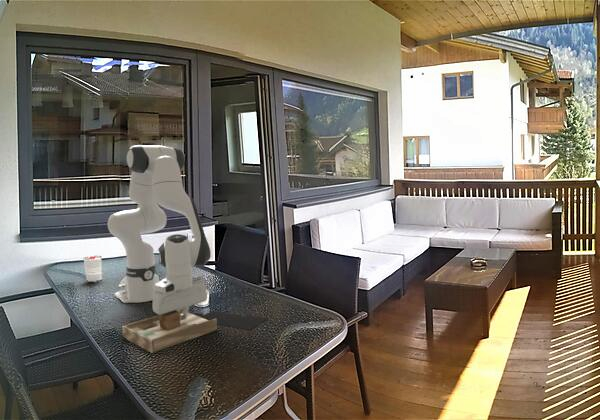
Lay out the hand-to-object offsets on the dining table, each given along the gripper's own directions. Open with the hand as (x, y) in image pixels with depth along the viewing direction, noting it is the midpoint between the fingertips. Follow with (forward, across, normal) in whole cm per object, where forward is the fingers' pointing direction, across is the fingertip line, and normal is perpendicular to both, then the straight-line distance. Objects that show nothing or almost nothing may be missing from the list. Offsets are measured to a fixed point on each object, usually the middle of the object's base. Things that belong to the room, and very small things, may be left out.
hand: (182, 319), depth 166 cm
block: (+1, +5, 0) cm, 5 cm away
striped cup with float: (+4, -8, -92) cm, 93 cm away
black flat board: (+4, -16, +3) cm, 17 cm away
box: (+4, +4, 0) cm, 6 cm away
